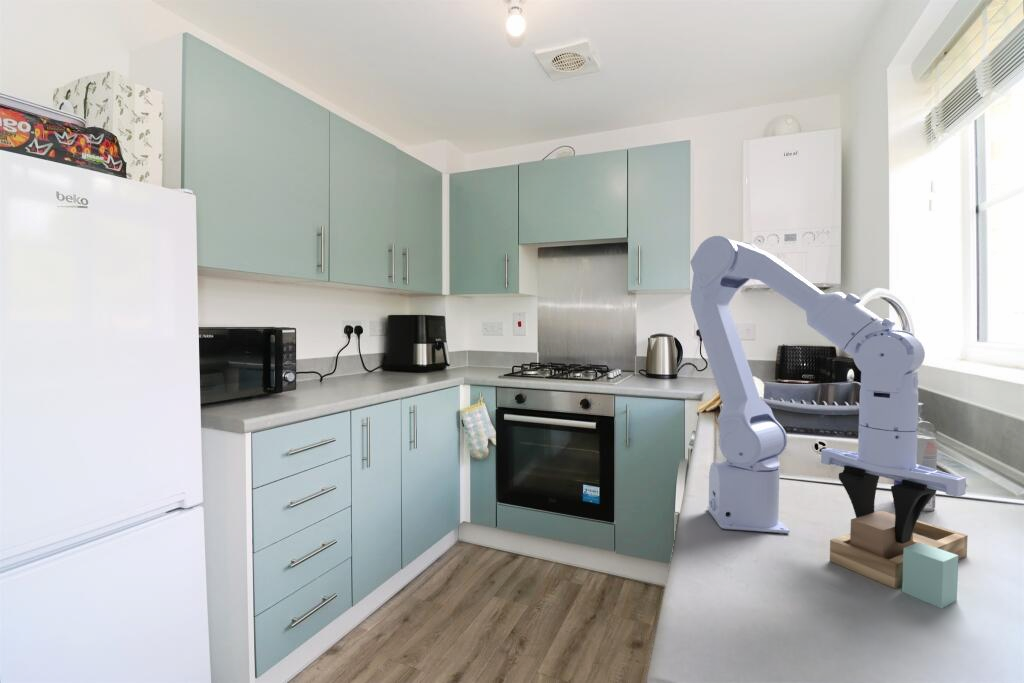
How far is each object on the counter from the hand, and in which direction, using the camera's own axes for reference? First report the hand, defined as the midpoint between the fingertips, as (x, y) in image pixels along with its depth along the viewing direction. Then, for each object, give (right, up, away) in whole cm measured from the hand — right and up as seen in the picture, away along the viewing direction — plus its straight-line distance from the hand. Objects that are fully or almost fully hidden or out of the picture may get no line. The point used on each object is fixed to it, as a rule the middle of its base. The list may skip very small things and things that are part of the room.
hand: (883, 534), depth 58 cm
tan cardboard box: (0, -3, 0) cm, 3 cm away
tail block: (0, -4, -7) cm, 8 cm away
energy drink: (+21, -4, +20) cm, 30 cm away
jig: (+4, -4, +2) cm, 6 cm away
